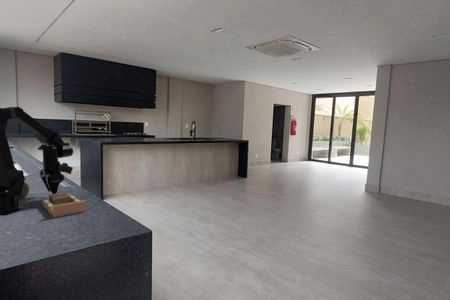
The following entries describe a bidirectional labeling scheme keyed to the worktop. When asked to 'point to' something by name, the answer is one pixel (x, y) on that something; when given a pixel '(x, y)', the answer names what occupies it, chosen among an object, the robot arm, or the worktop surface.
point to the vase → (24, 191)
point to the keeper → (59, 198)
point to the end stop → (69, 208)
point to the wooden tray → (48, 205)
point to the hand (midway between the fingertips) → (52, 193)
